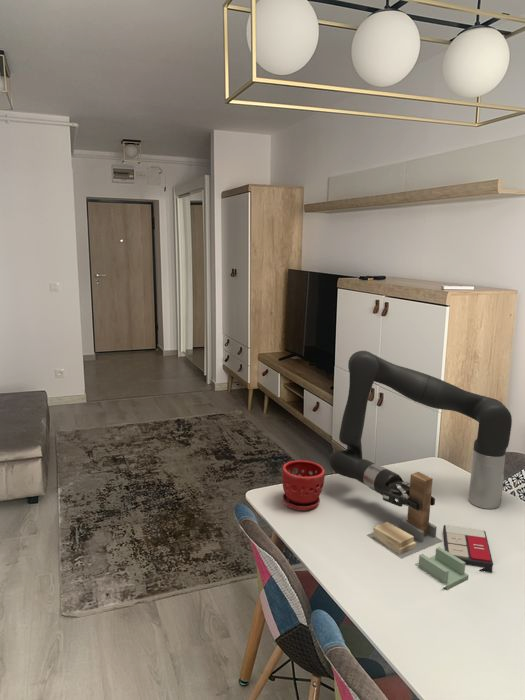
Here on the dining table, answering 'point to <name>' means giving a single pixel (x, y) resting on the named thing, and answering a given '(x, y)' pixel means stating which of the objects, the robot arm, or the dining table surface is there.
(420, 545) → the rack
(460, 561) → the board holder
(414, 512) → the tall board
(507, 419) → the robot arm
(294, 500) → the plant pot
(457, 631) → the dining table surface
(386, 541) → the offcut stack
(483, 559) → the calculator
